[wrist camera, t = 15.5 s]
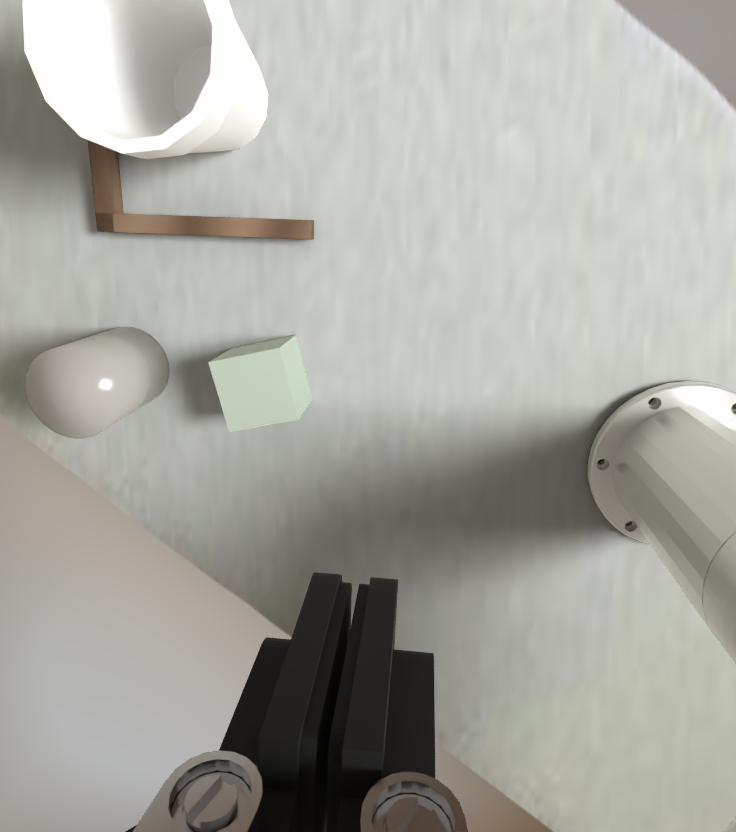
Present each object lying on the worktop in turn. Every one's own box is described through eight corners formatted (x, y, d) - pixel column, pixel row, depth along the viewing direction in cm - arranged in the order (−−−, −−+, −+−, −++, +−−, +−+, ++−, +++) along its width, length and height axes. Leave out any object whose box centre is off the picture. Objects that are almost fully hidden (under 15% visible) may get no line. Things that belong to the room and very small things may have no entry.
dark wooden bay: (314, -45, 35) (310, -56, 34) (313, 238, 40) (309, 239, 39) (81, -44, 36) (67, -55, 35) (108, 231, 42) (97, 231, 40)
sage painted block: (296, 334, 43) (279, 347, 38) (312, 399, 44) (298, 419, 39) (232, 347, 43) (208, 362, 39) (250, 410, 45) (229, 432, 40)
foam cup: (240, -18, 36) (143, -144, 24) (318, 123, 38) (266, 74, 26) (124, 74, 38) (-20, 2, 26) (204, 203, 40) (105, 192, 28)
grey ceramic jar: (166, 328, 43) (110, 349, 36) (172, 405, 45) (120, 441, 38) (89, 324, 44) (18, 344, 36) (98, 401, 46) (32, 435, 38)
